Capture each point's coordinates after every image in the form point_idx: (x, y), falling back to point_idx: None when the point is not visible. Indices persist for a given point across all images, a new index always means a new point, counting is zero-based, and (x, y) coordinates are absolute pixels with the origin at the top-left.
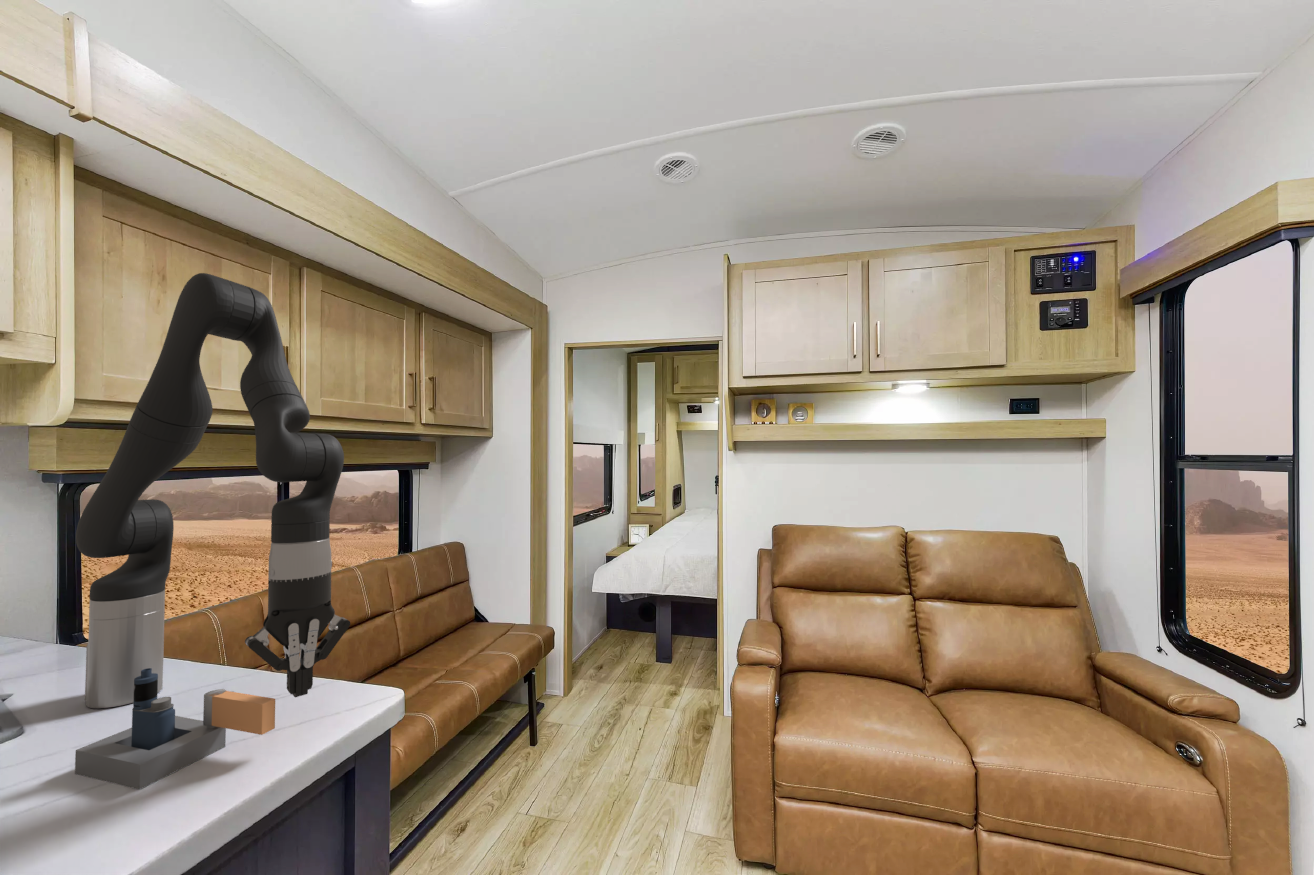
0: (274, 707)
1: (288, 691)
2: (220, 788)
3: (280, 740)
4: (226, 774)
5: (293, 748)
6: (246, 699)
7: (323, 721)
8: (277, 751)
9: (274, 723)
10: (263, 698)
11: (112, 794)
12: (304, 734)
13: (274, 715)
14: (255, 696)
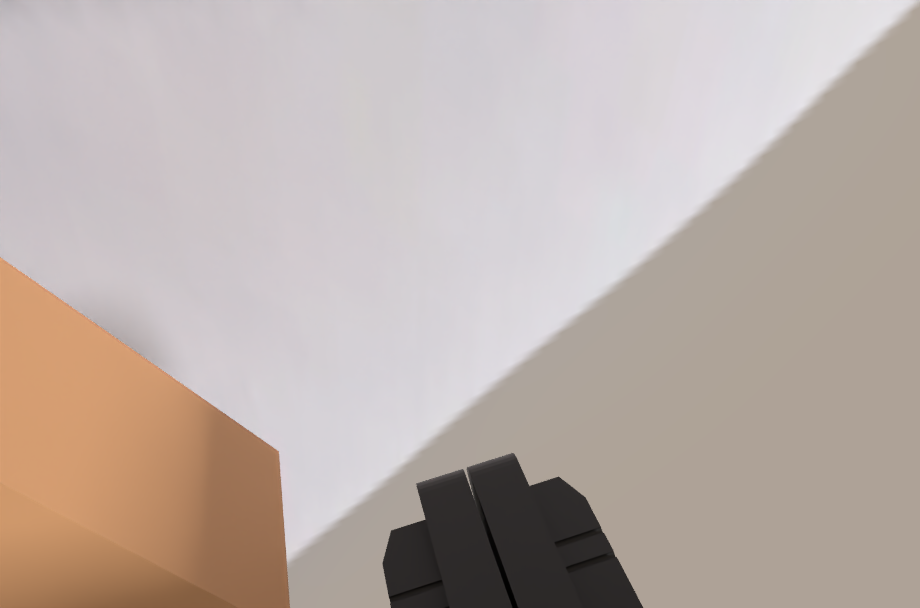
0: (282, 574)
1: (392, 539)
2: None
3: (286, 175)
4: None
5: (367, 321)
6: (3, 582)
7: (554, 16)
8: (284, 316)
9: (278, 481)
10: (181, 605)
11: None
12: (427, 166)
13: (279, 521)
14: (82, 544)
